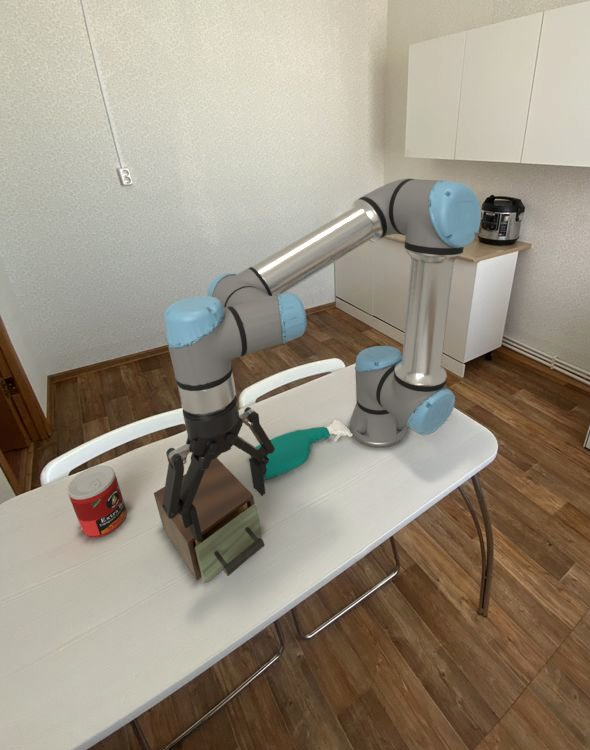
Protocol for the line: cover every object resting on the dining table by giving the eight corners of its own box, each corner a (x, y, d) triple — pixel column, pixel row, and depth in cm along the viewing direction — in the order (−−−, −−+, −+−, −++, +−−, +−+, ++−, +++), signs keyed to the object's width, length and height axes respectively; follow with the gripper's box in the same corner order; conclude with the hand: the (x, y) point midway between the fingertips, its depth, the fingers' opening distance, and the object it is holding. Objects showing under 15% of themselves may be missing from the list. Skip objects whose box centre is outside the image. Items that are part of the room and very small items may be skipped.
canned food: (106, 542, 74) (91, 500, 70) (72, 535, 75) (55, 493, 71) (136, 508, 81) (124, 468, 77) (104, 502, 82) (90, 462, 78)
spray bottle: (248, 456, 94) (334, 419, 107) (264, 485, 86) (356, 442, 99) (247, 446, 93) (334, 410, 106) (263, 475, 85) (355, 432, 98)
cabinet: (258, 531, 75) (253, 494, 72) (196, 581, 67) (187, 542, 63) (221, 490, 85) (215, 456, 81) (163, 529, 76) (153, 493, 73)
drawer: (277, 554, 70) (273, 523, 67) (219, 605, 62) (212, 573, 60) (226, 497, 82) (221, 469, 79) (172, 534, 74) (164, 504, 71)
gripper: (262, 361, 66) (274, 461, 74) (112, 429, 51) (147, 546, 58) (289, 377, 61) (299, 482, 69) (132, 457, 46) (167, 581, 53)
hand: (229, 511), depth 64 cm, fingers open, 11 cm apart
